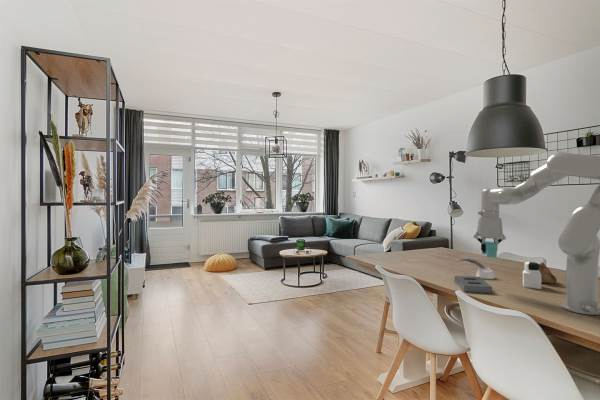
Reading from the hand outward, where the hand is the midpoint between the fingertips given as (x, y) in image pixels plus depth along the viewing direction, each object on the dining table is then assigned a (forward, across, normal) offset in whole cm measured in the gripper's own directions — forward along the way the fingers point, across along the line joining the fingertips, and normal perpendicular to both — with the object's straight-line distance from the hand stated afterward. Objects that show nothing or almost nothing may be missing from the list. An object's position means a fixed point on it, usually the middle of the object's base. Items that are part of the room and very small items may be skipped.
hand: (488, 251), depth 161 cm
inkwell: (+19, +1, +26) cm, 32 cm away
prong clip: (+2, 0, 0) cm, 2 cm away
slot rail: (+18, -7, +2) cm, 19 cm away
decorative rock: (+18, +31, +21) cm, 42 cm away
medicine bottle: (+18, +22, +10) cm, 30 cm away
